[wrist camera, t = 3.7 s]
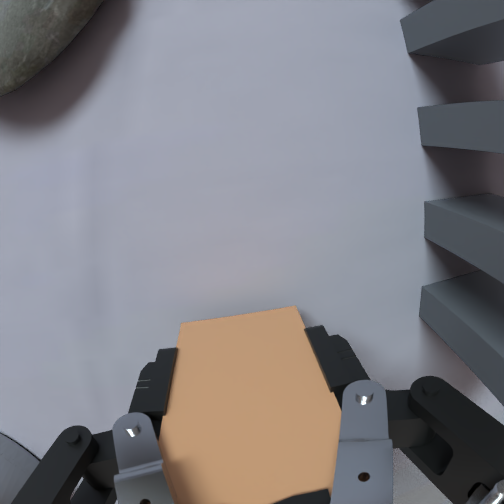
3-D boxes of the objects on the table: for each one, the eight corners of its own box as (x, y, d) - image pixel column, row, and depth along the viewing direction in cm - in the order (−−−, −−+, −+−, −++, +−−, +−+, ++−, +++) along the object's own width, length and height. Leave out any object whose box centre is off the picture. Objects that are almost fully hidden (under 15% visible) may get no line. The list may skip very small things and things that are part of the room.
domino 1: (298, 339, 14) (367, 527, 5) (190, 355, 14) (172, 552, 5) (295, 305, 14) (379, 501, 5) (181, 322, 14) (145, 531, 5)
